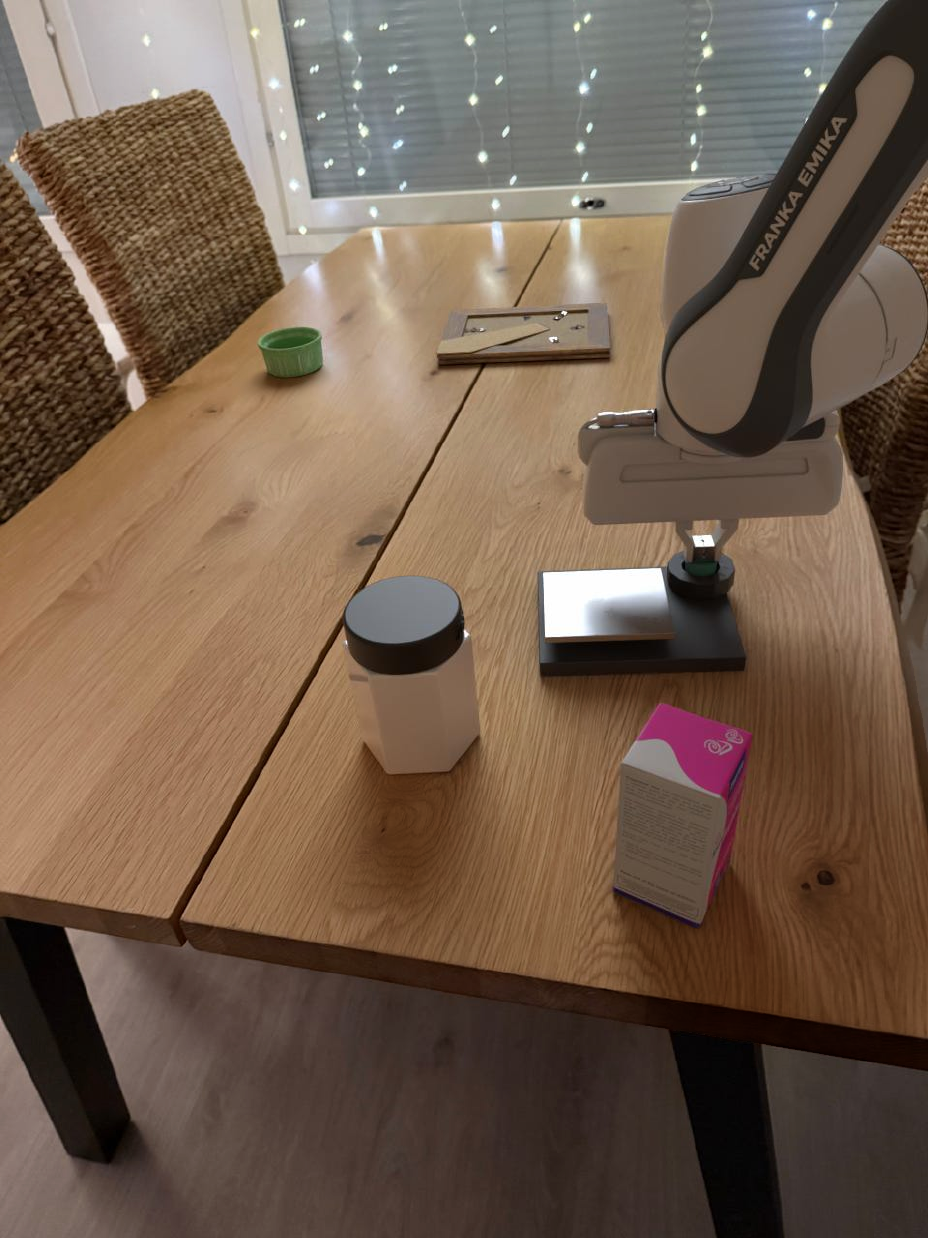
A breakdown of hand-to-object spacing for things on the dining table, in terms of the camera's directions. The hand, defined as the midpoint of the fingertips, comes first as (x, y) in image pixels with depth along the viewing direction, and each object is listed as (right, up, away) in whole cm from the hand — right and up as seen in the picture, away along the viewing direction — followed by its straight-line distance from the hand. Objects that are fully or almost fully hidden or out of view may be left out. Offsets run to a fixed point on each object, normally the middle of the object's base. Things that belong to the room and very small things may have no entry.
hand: (701, 558), depth 78 cm
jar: (-23, -14, -9) cm, 29 cm away
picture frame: (-11, +36, +55) cm, 67 cm away
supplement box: (-7, -21, -21) cm, 31 cm away
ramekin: (-44, +31, +54) cm, 76 cm away
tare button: (0, -1, +1) cm, 2 cm away
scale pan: (-9, -4, -3) cm, 10 cm away
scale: (-6, -6, 0) cm, 8 cm away
